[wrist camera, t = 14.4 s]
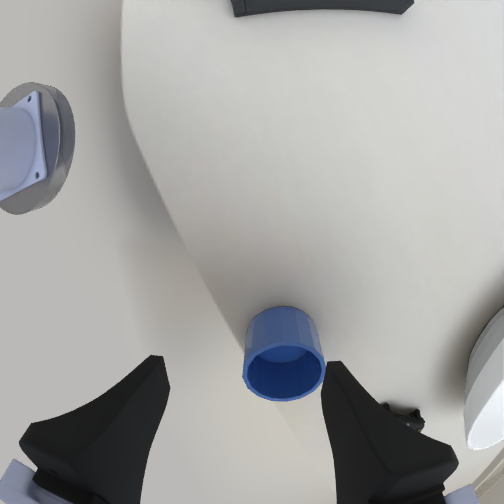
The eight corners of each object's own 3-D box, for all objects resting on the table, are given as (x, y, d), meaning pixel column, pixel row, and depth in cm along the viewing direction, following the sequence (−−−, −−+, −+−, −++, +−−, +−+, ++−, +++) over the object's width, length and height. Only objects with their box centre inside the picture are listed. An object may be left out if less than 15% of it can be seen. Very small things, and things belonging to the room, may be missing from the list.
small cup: (244, 359, 23) (240, 398, 18) (249, 303, 21) (246, 338, 17) (308, 364, 22) (315, 402, 18) (322, 308, 21) (334, 344, 17)
